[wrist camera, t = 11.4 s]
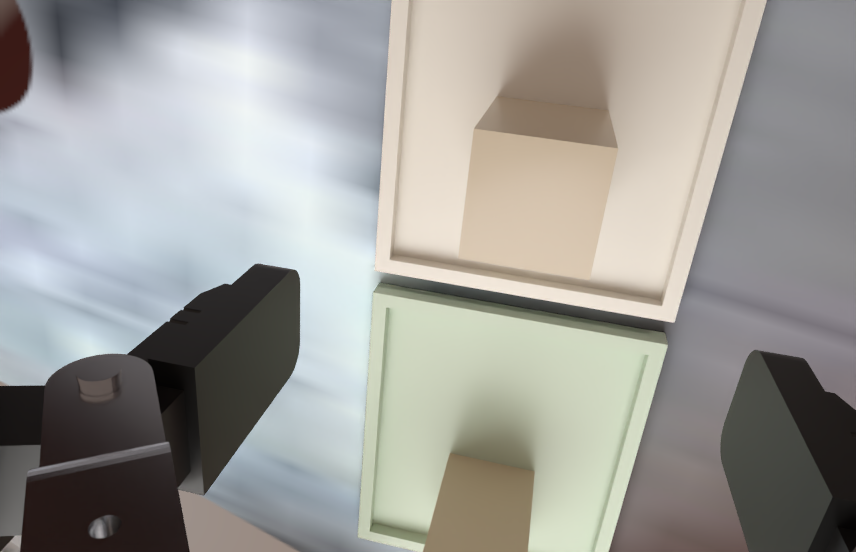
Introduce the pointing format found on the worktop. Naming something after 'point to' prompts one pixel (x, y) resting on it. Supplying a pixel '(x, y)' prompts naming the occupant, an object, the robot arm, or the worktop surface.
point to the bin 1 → (570, 85)
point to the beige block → (538, 186)
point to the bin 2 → (502, 412)
